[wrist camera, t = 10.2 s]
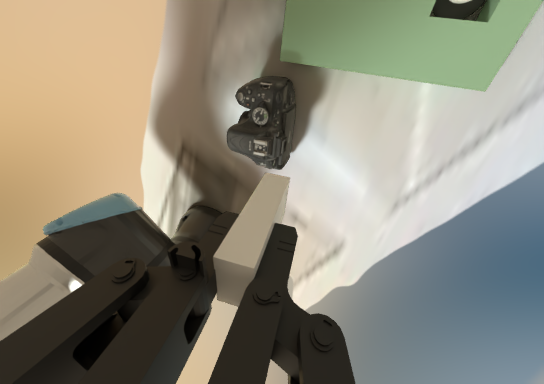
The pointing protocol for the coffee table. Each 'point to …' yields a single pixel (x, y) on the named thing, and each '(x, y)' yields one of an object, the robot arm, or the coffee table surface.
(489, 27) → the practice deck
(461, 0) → the golf ball
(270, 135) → the camera
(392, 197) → the coffee table surface
